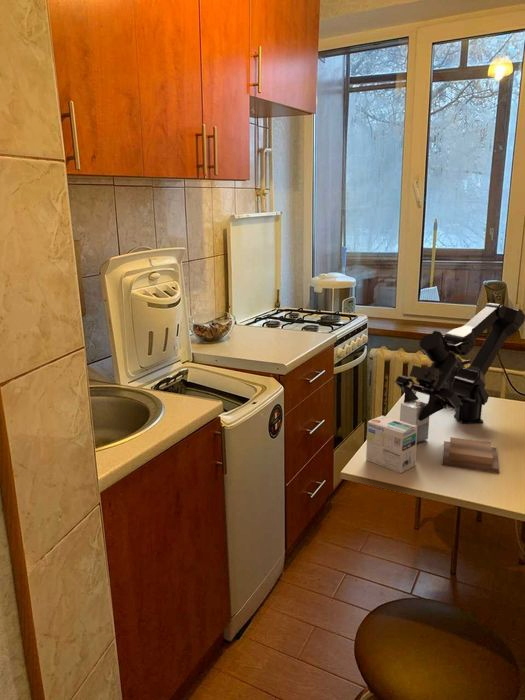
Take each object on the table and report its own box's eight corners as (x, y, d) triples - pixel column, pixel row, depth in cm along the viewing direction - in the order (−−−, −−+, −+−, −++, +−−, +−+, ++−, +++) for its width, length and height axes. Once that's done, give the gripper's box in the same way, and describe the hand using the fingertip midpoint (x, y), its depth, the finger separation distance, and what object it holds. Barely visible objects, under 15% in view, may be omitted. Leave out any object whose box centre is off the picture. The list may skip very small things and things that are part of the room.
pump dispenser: (465, 406, 174) (469, 361, 171) (432, 401, 179) (435, 357, 176) (470, 397, 183) (474, 354, 179) (438, 392, 188) (441, 350, 184)
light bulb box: (416, 465, 135) (418, 425, 132) (401, 474, 130) (403, 432, 127) (380, 452, 142) (382, 414, 140) (364, 460, 138) (366, 420, 135)
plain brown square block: (412, 432, 153) (413, 399, 151) (427, 438, 149) (430, 404, 147) (398, 437, 150) (400, 403, 148) (414, 443, 146) (416, 409, 144)
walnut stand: (444, 444, 146) (444, 434, 146) (495, 451, 142) (497, 440, 141) (442, 465, 134) (443, 454, 134) (498, 473, 130) (500, 461, 129)
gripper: (400, 347, 153) (372, 392, 150) (457, 361, 139) (426, 411, 135) (417, 369, 160) (390, 412, 156) (473, 385, 145) (444, 433, 142)
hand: (411, 416), depth 147 cm, fingers closed on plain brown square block, 5 cm apart
